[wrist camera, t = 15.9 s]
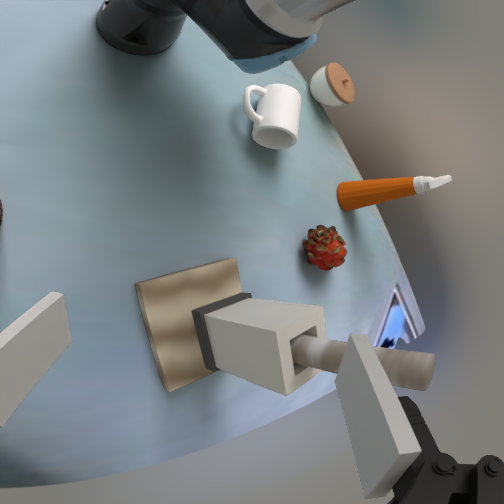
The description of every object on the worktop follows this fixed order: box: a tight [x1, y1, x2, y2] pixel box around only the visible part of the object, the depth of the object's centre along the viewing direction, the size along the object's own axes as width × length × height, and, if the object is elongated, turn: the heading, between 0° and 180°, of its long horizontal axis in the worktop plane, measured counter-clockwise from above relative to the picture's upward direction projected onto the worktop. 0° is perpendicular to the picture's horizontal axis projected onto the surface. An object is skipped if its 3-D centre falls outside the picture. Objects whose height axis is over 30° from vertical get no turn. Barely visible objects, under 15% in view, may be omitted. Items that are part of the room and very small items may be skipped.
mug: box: [242, 84, 301, 149], centre depth 52 cm, size 12×10×8 cm
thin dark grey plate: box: [191, 292, 252, 372], centre depth 40 cm, size 8×8×2 cm
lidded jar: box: [309, 63, 355, 106], centre depth 65 cm, size 11×11×9 cm
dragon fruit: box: [303, 225, 347, 271], centre depth 61 cm, size 8×8×12 cm
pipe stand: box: [135, 258, 435, 392], centre depth 33 cm, size 16×16×34 cm
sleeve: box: [204, 298, 327, 396], centre depth 34 cm, size 7×7×12 cm
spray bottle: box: [337, 175, 452, 211], centre depth 64 cm, size 7×11×26 cm, turn 112°
